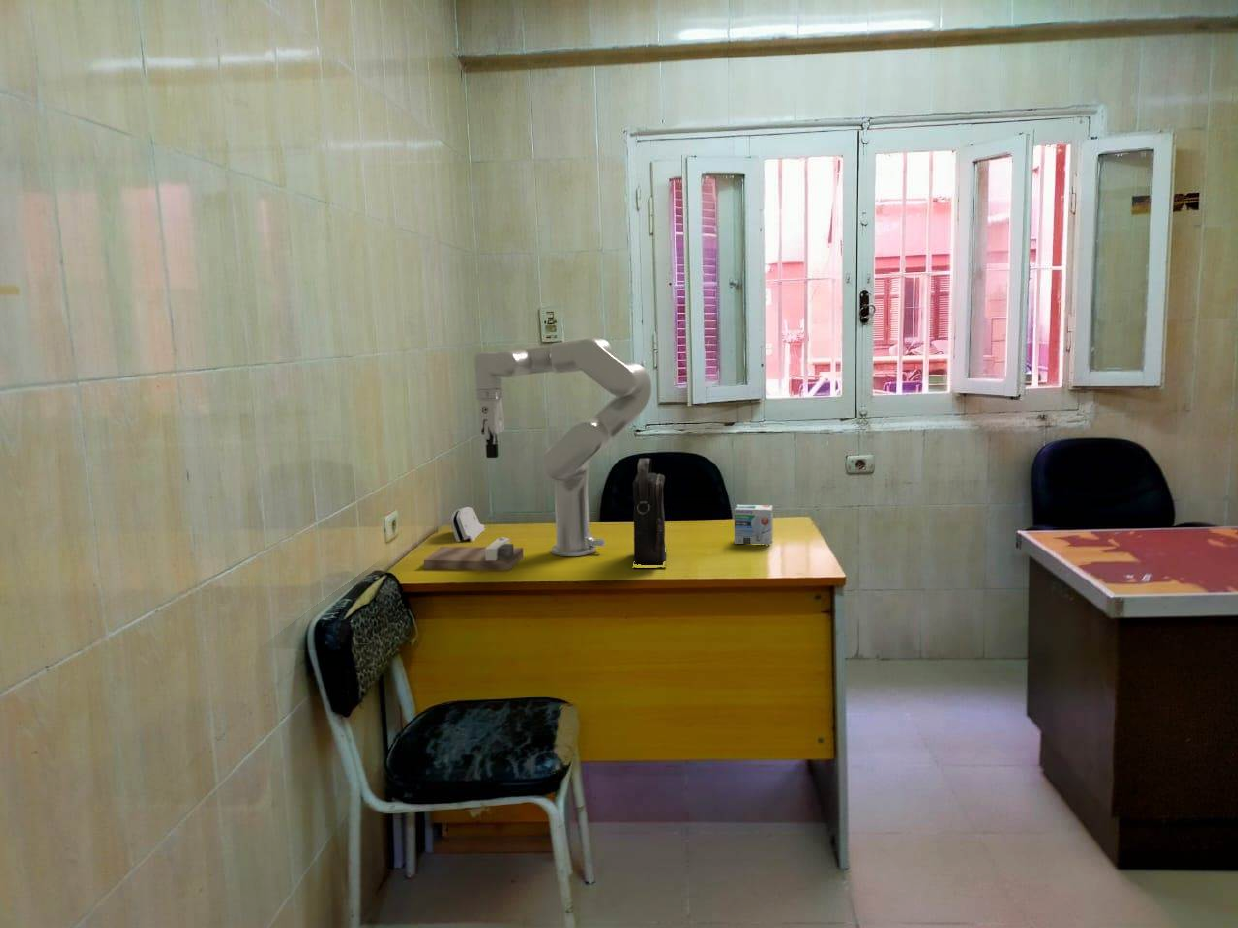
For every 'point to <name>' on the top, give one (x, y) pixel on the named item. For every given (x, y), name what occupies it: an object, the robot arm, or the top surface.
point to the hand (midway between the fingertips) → (492, 457)
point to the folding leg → (495, 548)
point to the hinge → (465, 524)
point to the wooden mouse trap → (473, 558)
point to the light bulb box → (754, 524)
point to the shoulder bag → (648, 516)
